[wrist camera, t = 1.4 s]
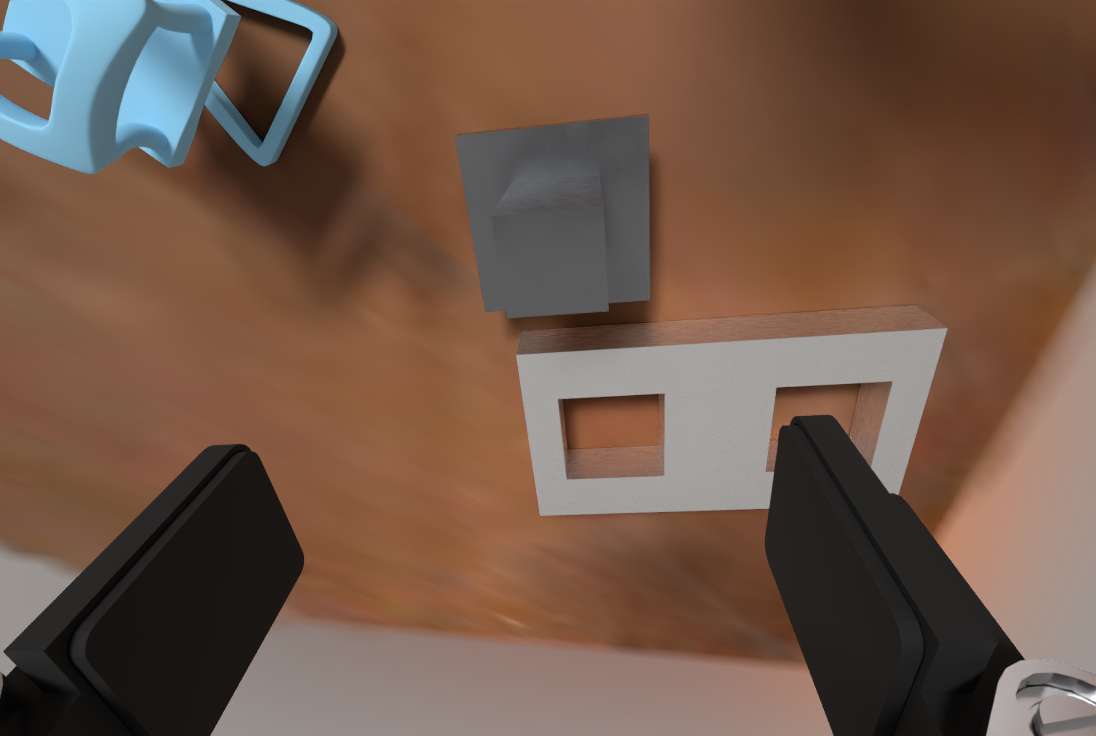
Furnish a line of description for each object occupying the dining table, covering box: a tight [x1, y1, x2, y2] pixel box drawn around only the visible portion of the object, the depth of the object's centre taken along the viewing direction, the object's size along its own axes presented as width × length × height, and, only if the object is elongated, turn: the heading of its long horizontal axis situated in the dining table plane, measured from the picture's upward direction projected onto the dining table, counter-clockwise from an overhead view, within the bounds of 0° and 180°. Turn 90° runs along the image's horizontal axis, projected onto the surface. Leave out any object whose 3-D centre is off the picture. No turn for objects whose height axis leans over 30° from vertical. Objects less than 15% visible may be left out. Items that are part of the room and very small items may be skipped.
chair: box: [0, 0, 337, 174], centre depth 20 cm, size 8×8×12 cm
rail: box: [516, 305, 948, 516], centre depth 32 cm, size 12×22×3 cm, turn 96°
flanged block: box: [455, 114, 650, 318], centre depth 24 cm, size 8×8×9 cm
